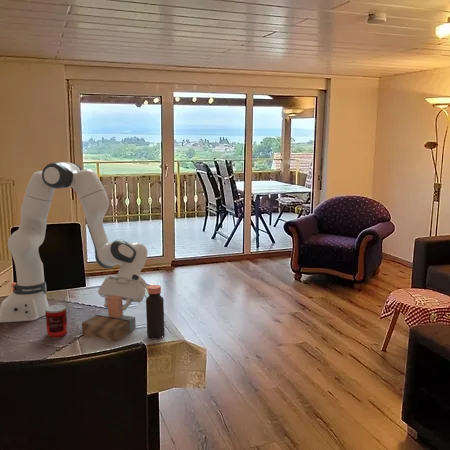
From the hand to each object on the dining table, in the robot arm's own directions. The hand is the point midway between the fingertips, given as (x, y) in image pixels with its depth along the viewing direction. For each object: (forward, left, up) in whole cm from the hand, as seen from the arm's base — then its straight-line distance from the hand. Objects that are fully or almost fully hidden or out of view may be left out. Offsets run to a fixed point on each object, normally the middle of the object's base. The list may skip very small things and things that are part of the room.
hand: (114, 308), depth 194 cm
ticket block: (-4, -4, -8) cm, 10 cm away
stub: (0, 0, -8) cm, 8 cm away
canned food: (-22, +3, -9) cm, 24 cm away
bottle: (+14, -13, -9) cm, 21 cm away
